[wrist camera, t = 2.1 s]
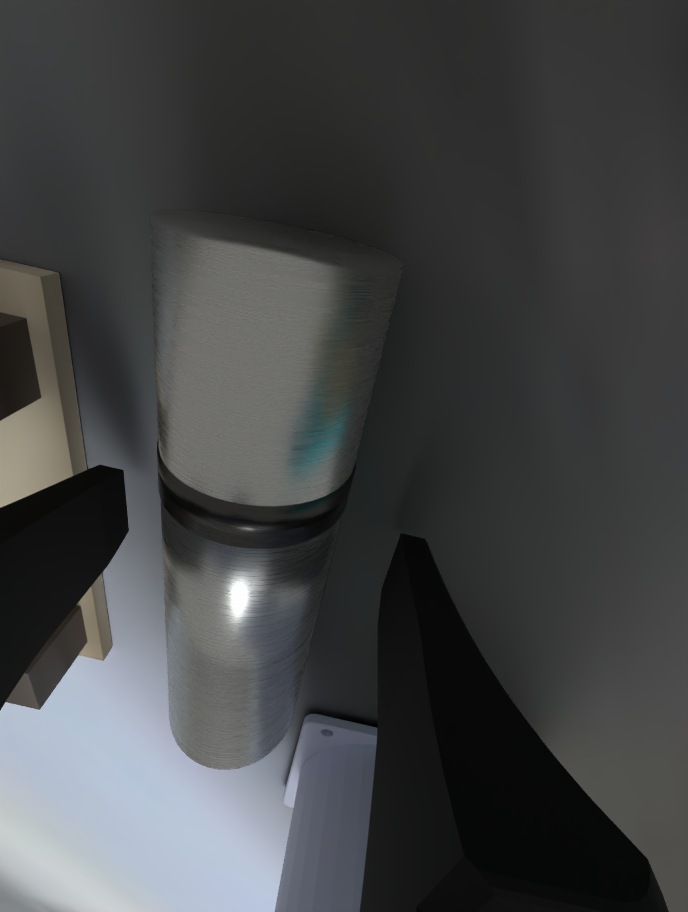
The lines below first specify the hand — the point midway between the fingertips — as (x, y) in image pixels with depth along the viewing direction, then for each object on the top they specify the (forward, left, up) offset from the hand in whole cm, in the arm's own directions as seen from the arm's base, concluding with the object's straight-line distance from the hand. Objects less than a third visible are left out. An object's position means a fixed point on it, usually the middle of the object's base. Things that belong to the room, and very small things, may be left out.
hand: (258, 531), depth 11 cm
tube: (0, 0, -1) cm, 1 cm away
